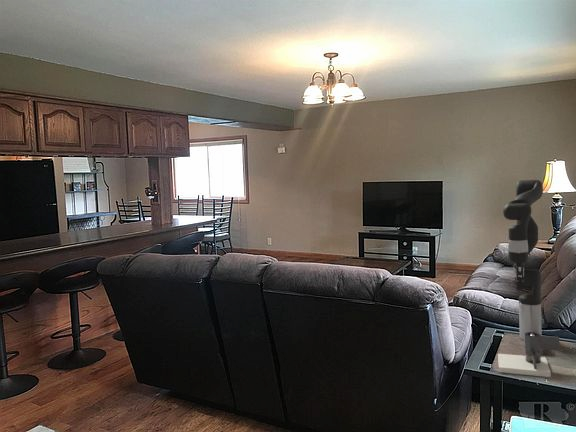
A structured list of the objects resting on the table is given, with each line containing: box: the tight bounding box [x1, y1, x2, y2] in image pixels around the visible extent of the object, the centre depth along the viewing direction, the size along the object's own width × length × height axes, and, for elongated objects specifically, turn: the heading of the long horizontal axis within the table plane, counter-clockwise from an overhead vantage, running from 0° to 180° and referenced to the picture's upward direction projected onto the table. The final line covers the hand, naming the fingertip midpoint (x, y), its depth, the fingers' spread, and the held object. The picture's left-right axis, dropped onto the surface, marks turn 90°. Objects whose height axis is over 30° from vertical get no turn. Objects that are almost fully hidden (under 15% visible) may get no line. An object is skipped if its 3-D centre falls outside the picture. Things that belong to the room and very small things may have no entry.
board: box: [497, 353, 552, 378], centre depth 187 cm, size 15×18×2 cm
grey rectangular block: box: [524, 332, 560, 352], centre depth 186 cm, size 6×12×6 cm, turn 67°
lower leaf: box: [524, 334, 542, 369], centre depth 184 cm, size 11×6×11 cm, turn 157°
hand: (519, 287), depth 196 cm, fingers open, 8 cm apart
